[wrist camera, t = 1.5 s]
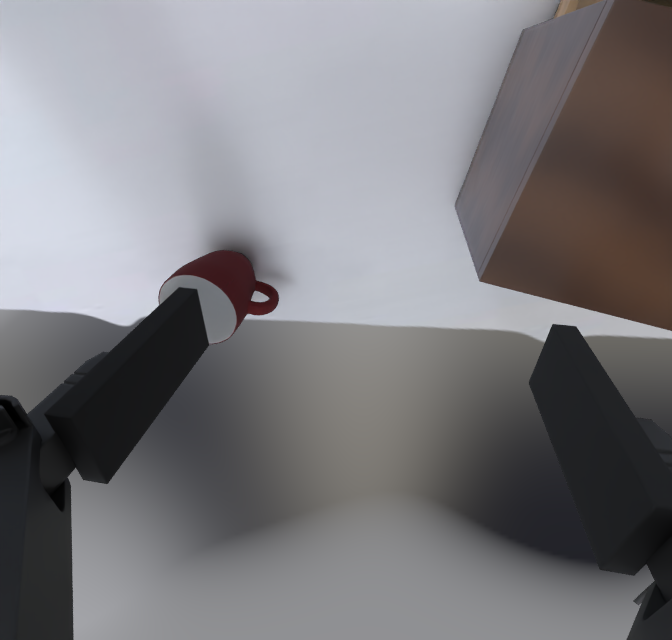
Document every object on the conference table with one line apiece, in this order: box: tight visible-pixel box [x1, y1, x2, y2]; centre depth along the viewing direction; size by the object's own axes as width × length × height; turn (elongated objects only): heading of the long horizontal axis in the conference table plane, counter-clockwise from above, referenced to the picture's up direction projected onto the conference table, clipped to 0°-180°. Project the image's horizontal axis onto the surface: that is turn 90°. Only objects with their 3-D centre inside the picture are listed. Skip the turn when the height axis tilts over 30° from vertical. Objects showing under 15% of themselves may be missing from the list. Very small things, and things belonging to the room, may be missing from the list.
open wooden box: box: [455, 0, 672, 331], centre depth 26 cm, size 14×16×16 cm
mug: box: [159, 250, 279, 344], centre depth 40 cm, size 10×8×10 cm
